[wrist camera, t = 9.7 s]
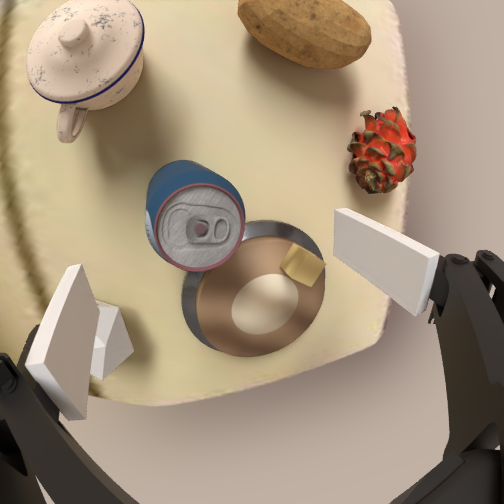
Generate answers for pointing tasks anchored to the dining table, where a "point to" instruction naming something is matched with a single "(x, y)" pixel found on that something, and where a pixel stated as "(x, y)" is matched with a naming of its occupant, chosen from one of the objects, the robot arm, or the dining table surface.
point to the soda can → (193, 216)
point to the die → (109, 341)
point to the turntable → (260, 296)
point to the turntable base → (250, 231)
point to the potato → (308, 30)
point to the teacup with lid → (86, 59)
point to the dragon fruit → (382, 152)
